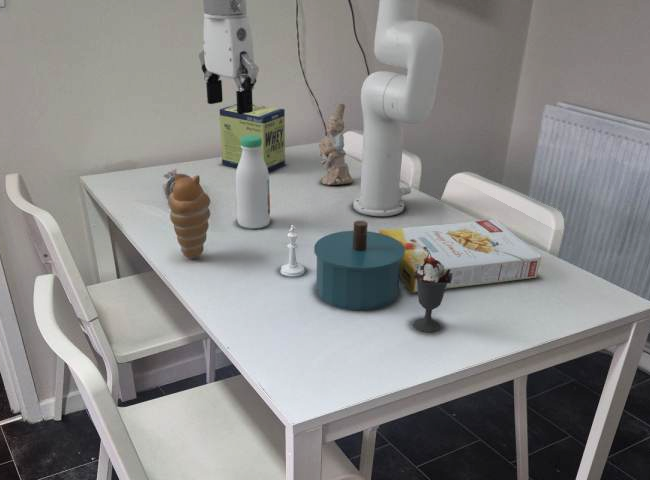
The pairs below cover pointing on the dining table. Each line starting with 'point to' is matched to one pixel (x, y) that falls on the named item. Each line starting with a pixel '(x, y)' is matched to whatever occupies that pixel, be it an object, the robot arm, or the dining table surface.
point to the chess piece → (292, 257)
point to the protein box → (257, 123)
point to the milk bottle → (252, 185)
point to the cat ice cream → (189, 214)
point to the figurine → (335, 150)
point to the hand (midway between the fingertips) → (229, 107)
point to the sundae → (430, 291)
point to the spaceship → (171, 182)
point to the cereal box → (466, 253)
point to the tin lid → (359, 249)
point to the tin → (357, 286)
